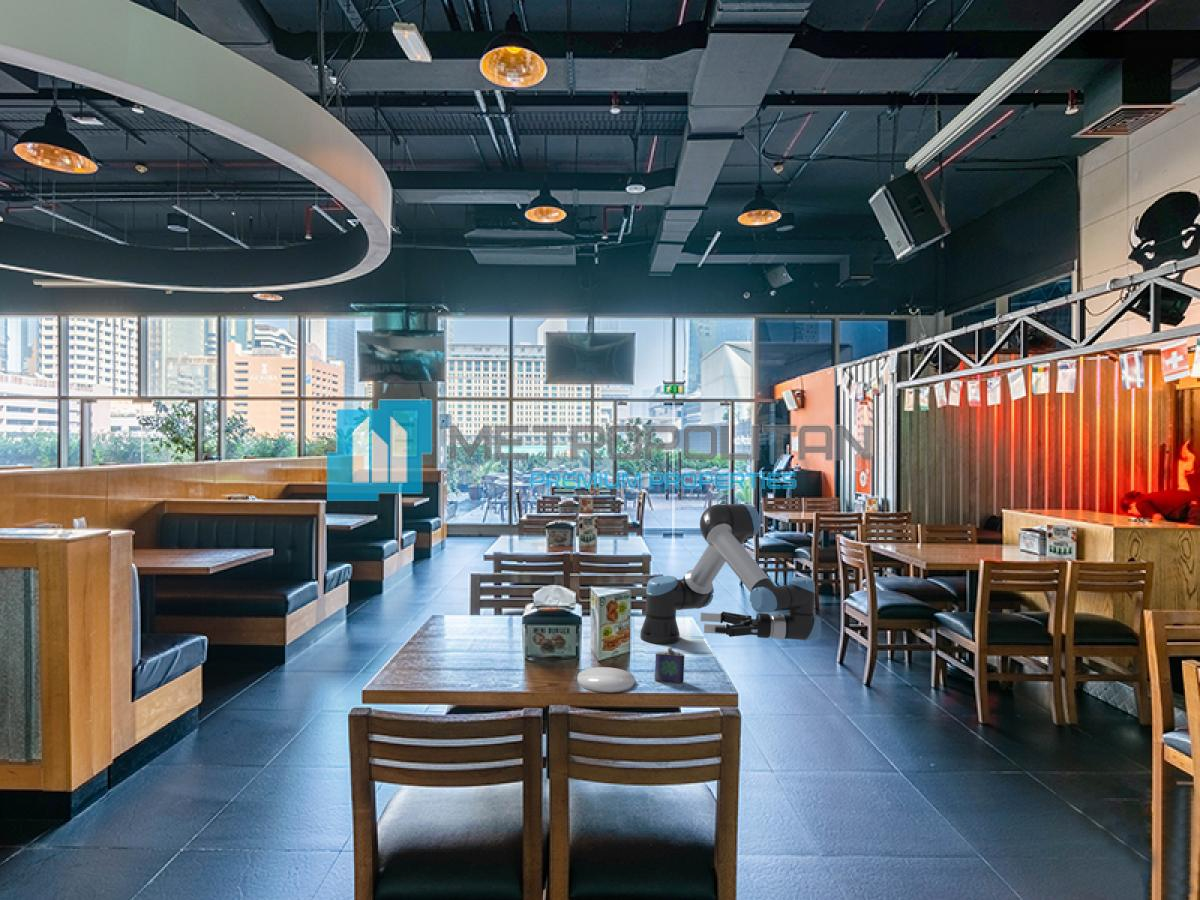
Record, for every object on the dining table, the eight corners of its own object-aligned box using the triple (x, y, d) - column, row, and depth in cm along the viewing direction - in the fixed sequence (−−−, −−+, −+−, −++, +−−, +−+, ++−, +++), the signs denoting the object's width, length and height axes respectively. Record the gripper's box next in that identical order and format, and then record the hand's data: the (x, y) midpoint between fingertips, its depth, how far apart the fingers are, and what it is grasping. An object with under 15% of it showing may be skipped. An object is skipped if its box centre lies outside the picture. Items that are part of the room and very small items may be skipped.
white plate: (580, 670, 228) (580, 665, 228) (634, 673, 227) (635, 669, 227) (574, 690, 210) (574, 685, 210) (633, 694, 209) (634, 689, 209)
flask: (654, 681, 220) (655, 648, 220) (654, 678, 223) (656, 645, 223) (683, 684, 219) (684, 650, 219) (683, 680, 222) (684, 647, 222)
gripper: (763, 604, 231) (699, 601, 232) (777, 624, 206) (706, 621, 208) (762, 626, 231) (698, 623, 233) (776, 649, 206) (705, 645, 208)
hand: (702, 622), depth 220 cm, fingers open, 13 cm apart
